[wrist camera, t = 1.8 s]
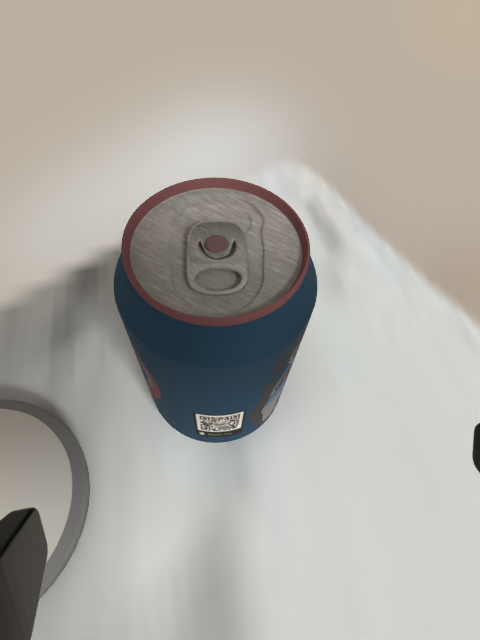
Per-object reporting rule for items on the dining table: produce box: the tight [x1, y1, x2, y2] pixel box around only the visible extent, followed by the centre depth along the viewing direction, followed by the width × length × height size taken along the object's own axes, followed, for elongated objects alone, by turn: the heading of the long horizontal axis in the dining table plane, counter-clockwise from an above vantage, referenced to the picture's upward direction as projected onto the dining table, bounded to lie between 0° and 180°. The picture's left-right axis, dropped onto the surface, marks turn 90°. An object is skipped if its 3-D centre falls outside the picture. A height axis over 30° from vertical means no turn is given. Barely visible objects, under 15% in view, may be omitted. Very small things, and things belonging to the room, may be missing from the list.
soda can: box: [114, 178, 317, 443], centre depth 17 cm, size 7×7×12 cm
